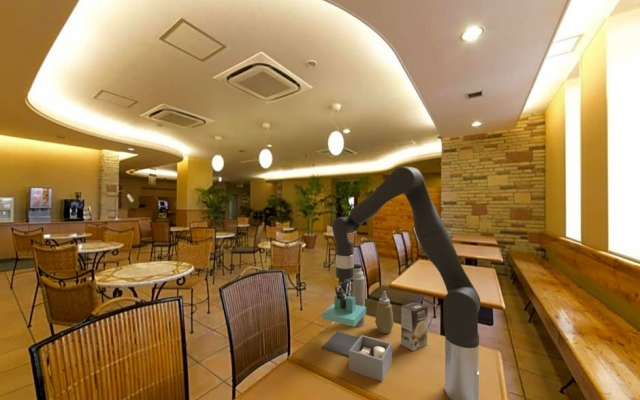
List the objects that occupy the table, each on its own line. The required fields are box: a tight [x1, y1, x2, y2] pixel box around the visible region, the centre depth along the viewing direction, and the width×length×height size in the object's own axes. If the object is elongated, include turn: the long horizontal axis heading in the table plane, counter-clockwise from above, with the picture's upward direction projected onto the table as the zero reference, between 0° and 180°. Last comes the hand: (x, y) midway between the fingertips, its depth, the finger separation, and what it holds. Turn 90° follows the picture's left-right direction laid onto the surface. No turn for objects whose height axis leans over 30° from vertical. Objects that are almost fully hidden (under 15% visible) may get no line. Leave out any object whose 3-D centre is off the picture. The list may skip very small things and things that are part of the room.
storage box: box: [348, 334, 393, 382], centre depth 97 cm, size 12×12×7 cm
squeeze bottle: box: [374, 290, 395, 335], centre depth 122 cm, size 8×8×18 cm
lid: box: [321, 294, 367, 327], centre depth 111 cm, size 14×14×8 cm
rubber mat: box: [321, 331, 360, 358], centre depth 111 cm, size 14×14×1 cm
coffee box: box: [400, 301, 429, 352], centre depth 111 cm, size 9×6×16 cm
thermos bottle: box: [350, 263, 366, 327], centre depth 130 cm, size 8×8×28 cm
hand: (344, 306), depth 111 cm, fingers closed on lid, 3 cm apart
